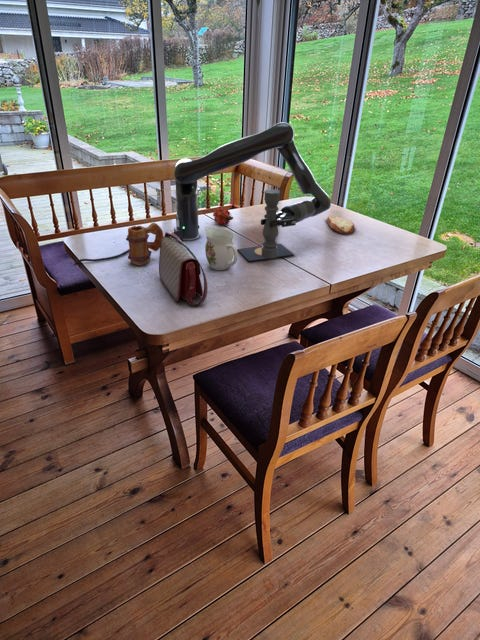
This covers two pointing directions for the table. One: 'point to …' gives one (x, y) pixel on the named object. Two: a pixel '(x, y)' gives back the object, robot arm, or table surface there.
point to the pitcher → (220, 248)
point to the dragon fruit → (222, 215)
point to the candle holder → (269, 233)
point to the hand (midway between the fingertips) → (265, 223)
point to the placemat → (256, 253)
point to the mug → (143, 242)
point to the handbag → (180, 270)
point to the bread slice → (340, 225)
